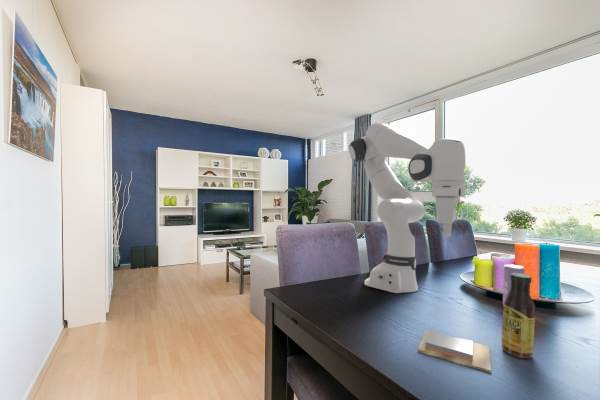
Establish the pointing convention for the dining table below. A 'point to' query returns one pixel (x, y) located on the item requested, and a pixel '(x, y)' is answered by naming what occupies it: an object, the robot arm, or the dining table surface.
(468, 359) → the tile
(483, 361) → the oak board
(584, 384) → the dining table surface
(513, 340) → the sauce bottle
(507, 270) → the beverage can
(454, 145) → the robot arm
